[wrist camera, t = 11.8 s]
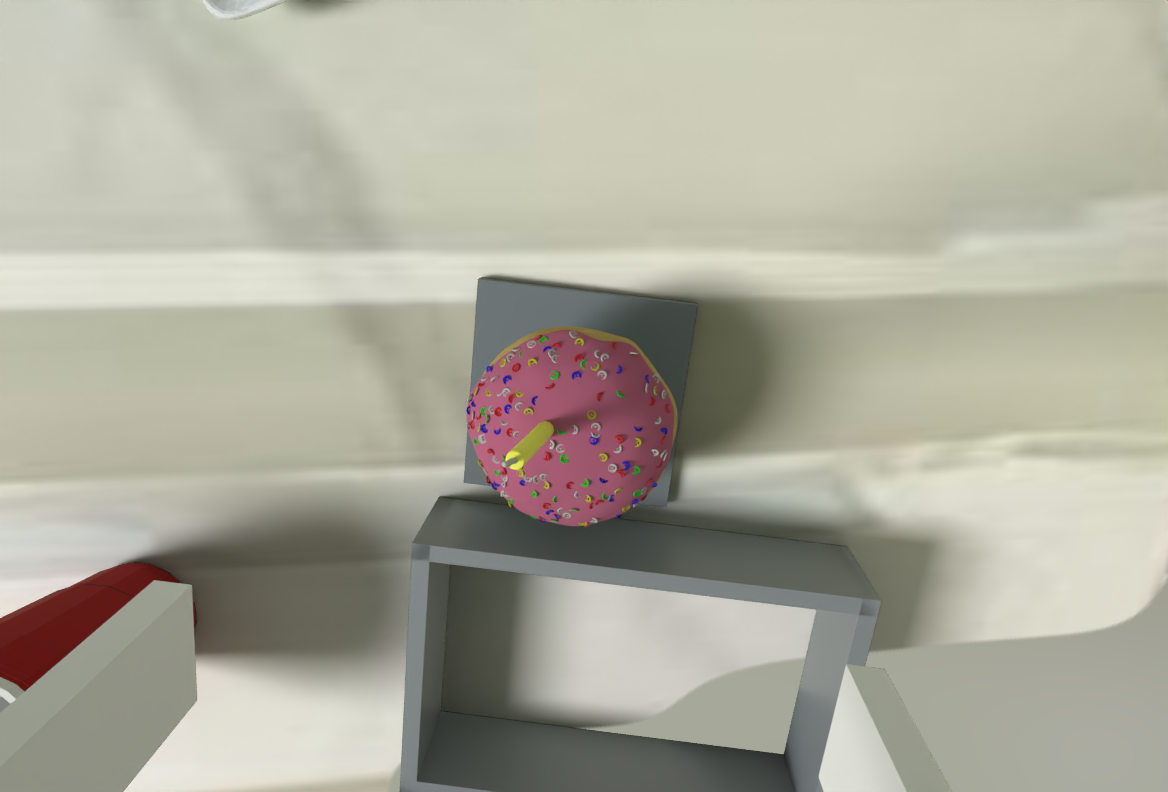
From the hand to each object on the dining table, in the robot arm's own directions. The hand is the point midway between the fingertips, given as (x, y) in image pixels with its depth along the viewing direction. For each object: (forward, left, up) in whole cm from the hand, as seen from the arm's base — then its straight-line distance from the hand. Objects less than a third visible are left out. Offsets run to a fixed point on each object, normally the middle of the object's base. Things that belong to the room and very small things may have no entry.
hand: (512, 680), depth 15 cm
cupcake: (0, 0, -21) cm, 21 cm away
